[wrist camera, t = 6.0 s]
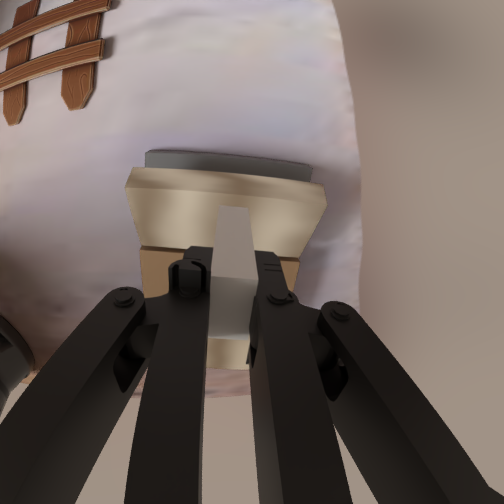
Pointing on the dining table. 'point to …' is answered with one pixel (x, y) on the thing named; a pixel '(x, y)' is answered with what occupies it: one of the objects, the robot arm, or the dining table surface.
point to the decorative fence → (52, 53)
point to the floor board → (162, 257)
